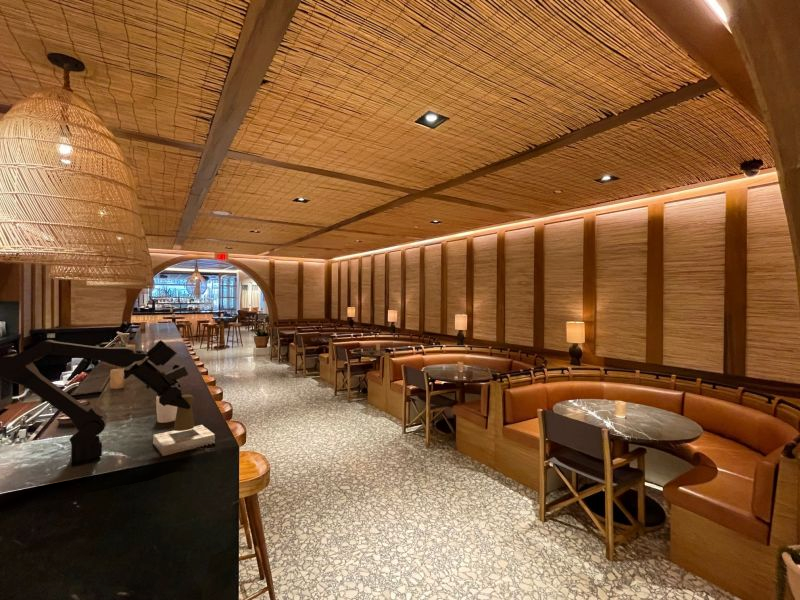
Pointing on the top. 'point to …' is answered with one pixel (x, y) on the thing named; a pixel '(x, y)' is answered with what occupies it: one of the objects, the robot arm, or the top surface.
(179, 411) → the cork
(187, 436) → the socket block
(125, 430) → the top surface
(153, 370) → the robot arm
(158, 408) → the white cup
